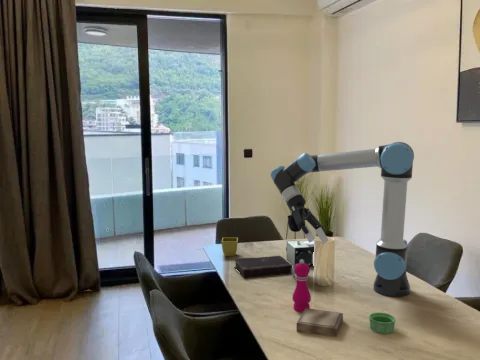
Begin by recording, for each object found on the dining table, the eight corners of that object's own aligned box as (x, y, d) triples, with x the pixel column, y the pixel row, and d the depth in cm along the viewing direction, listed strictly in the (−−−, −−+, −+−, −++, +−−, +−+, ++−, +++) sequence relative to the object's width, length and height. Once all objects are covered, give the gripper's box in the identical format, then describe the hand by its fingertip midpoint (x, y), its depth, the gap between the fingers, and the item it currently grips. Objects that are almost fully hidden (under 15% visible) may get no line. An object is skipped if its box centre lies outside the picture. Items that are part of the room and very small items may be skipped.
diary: (292, 274, 227) (292, 264, 227) (243, 280, 220) (243, 269, 219) (278, 263, 245) (278, 254, 244) (232, 267, 238) (232, 258, 237)
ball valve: (314, 282, 214) (314, 244, 211) (296, 283, 212) (296, 245, 210) (301, 270, 231) (302, 235, 229) (285, 271, 230) (285, 236, 227)
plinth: (342, 320, 172) (343, 312, 172) (336, 337, 159) (336, 328, 159) (305, 315, 177) (305, 307, 177) (296, 330, 164) (296, 322, 164)
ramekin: (380, 336, 159) (380, 324, 159) (363, 326, 168) (363, 314, 167) (400, 332, 163) (401, 320, 162) (383, 322, 171) (383, 310, 171)
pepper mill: (306, 313, 179) (306, 263, 176) (289, 309, 183) (289, 260, 180) (313, 307, 185) (314, 258, 182) (297, 303, 189) (297, 255, 186)
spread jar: (298, 262, 245) (298, 240, 244) (318, 260, 247) (319, 239, 246) (306, 269, 233) (306, 246, 232) (327, 267, 236) (328, 245, 234)
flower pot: (237, 257, 254) (237, 241, 253) (221, 257, 255) (221, 241, 254) (237, 253, 263) (237, 237, 262) (222, 253, 263) (222, 237, 262)
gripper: (299, 206, 209) (324, 247, 200) (273, 200, 189) (298, 245, 180) (312, 197, 206) (338, 237, 197) (287, 189, 186) (313, 234, 177)
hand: (319, 241), depth 188 cm, fingers open, 13 cm apart
